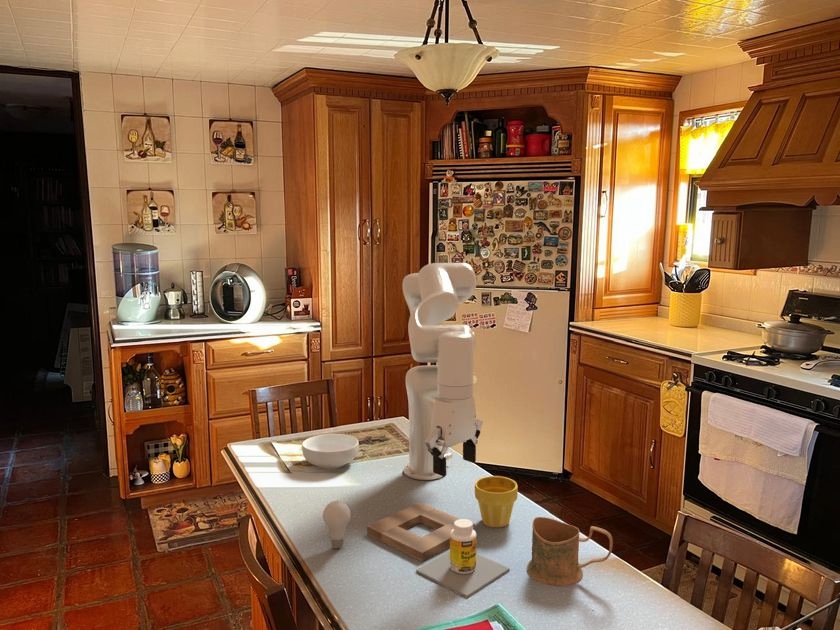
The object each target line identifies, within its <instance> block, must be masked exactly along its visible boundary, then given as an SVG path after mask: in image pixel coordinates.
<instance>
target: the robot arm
mask: <svg viewBox="0 0 840 630" xmlns="http://www.w3.org/2000/svg"><path fill="white" fill-rule="evenodd" d="M476 289H477V275H476V273H475V270H474V269H473V267H472V265H470V264H468V263H466V262H433V263H428V264H426V265H424V266H423V267H421V269H420V270H419V271H418V272H414V273H410V274H407V275H405V276H404V278H403V279H402V293H403V297H404V299H405V302H406V305H407V307H408V310H409V314H410V316H409V319H408V325H407V326H408V327H407V329H408V338H409V344H410V350H411V351H410V353H411V357H412V359H413V360H414V361H416V362H417V363H437V364H436V365H435V364H433V365H416V366H414V367H411V368H410V369H408V370H407V372H406V374H405V388H406V393H407V400H408V401H407V402H408V404H407V405H408V425H409V426H408V437H409V438H408V439H409V440H408V442H409V443H408V445H409V446H408V448H409V449H408V457H409V458H408V459H409V463H407V464H406V465H404V468H403V472H404V473H403V474H405V476H406V477H408V478H411V479H413V480H414V479H415V480H419V481H432V480H437V479H440V478H442V477H446V476H447V473H448V467H447V460H448V461H449V460H450V459H452V458H453V454H452V453H451V452H450V451H448V449H449V448H451V447H454V446H456V445H457V446H458V445H459V444H462V460H464V461H466V462H469V463H473V464H475V463H476V462H477V459H476V458H477V445H478V444H479V443H478V442H479V440H478V439H479V437H480V434H481V430H482V426H483V422H484V421H482V420H480V419H478V418H477V412H476V408H477V407H476V402H475V401H476V400H475V396H474V358H475V356H474V352H475V349H476V342H477V341H476V334H475V332H474V331H473V330H472V328H471V327H470V326H469V325H467V324H442V323H443V322H445V321H447V320H450V319H451V318H452V317H454V315H456V313H457V311H458V309H459V304H464V303H466V302H467V301H468V300H469V299H471V298H472V296H473V295H474V294H475V291H476ZM447 451H448V452H447Z"/></svg>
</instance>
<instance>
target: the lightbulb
mask: <svg viewBox="0 0 840 630" xmlns="http://www.w3.org/2000/svg"><path fill="white" fill-rule="evenodd" d="M322 519H323V523H324V524H325V525H326V528H328V531H329V537H330V539H331V540H330V542H331V546H332V547H333V548H334V549H336V550H337V549H340V548H342V547H343V546H344V538H345V531H346V529H347V528H346V527H347V525H348V523H349V521H350V519H351V511H350V508H349V506H348V505H347V504H346V503H345V502H343V501H340V500H334V501H331V502H329V503H328V504H327V505H326V506H325V507H324V509H323V513H322Z"/></svg>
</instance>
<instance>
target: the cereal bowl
mask: <svg viewBox="0 0 840 630" xmlns="http://www.w3.org/2000/svg"><path fill="white" fill-rule="evenodd" d="M359 444H360V443H359V440H358V438H356V437H355V436H352V435H350V434H343V433H325V434H320V435H315V436H311V437H308V438H307V439H305V440H304V441H303V442H302V443H301V451H302V455H303V458H304V459H305V460H306V461H307V462H308V463H309V464H311V465H313V466H317V467H318V468H320V469H324V470H336V469H340V468H342V467H343V466H344V465H347V464H348V463H351V462H352V461H353V460H354V459H355V458H356V457H357V455H358V452H359V447H360V445H359Z"/></svg>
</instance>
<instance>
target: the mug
mask: <svg viewBox="0 0 840 630" xmlns="http://www.w3.org/2000/svg"><path fill="white" fill-rule="evenodd" d="M531 526H532V535H531V536H532V537H531V538H532V539H531V543H532V544H531V560H530V561H529V562H528V563H527V564H526V565H527V566H526V571H527V575H529V576H530V578H531V579H533V580H535V581H536V582H538V583H541V584H544V585H547V586H552V587H569V586H573V585H575V584H577V583H579V582H580V581H581V580H582V578H583V575H584V574H583V569H582V568H585V567H587V566H589V565H591V564H593V563H602V562H605V561H607V560H608V559H609V558H610V556H611V554H612V551H613V548H614V547H613V544H614V539H613V536H612V534H611V533H610V532H609V531H608V530H606V529H603V528H601V527H598V526H593V525H592V526H591V525H590V527H589V535H588V537H585V538H583V537H580V529H579V528H578V527H576V526H574V525H571V524H570V523H569V524H568V523H566V522H562V521H560V520H556V519H555V518H549V517H546V516H545V517H544V516H537V517H534V518H533V521H532V525H531ZM594 531H596V532H599V533H601V534H603V535H606V537H607V538H608V540H609V548H608V553H607V555H606V556H605V557H601V558H594V559H593V558H592V559H590V560H589V561H587V562H585V563H579V550H580V549H579V547H580V543H585V542H588V541H590V538H591V537H592V535H593V534H594V533H593V532H594Z"/></svg>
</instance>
